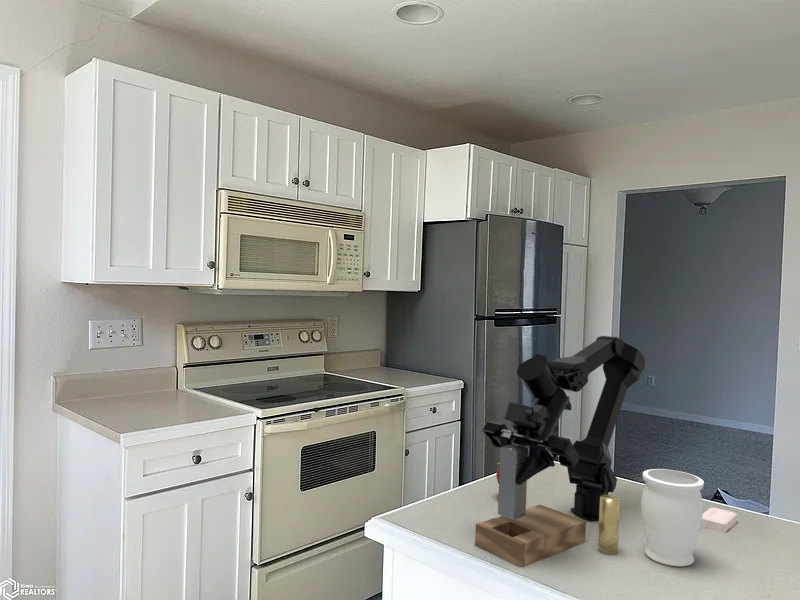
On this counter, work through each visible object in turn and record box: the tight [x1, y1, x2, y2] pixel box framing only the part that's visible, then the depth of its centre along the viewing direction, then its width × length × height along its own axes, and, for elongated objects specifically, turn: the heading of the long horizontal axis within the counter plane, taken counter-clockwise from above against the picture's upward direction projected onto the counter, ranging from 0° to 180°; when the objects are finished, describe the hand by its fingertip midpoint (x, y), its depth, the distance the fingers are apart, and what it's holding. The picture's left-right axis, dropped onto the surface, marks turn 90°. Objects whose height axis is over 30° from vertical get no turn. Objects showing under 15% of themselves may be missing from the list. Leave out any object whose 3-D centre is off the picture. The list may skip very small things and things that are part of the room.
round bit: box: [597, 494, 621, 556], centre depth 115 cm, size 4×4×10 cm
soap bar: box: [701, 507, 738, 533], centre depth 131 cm, size 5×9×2 cm, turn 137°
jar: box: [640, 468, 705, 567], centre depth 113 cm, size 11×10×15 cm
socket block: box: [474, 504, 587, 568], centre depth 117 cm, size 19×11×4 cm, turn 129°
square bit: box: [497, 444, 529, 520], centre depth 113 cm, size 4×4×12 cm
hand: (508, 480), depth 112 cm, fingers closed on square bit, 4 cm apart
